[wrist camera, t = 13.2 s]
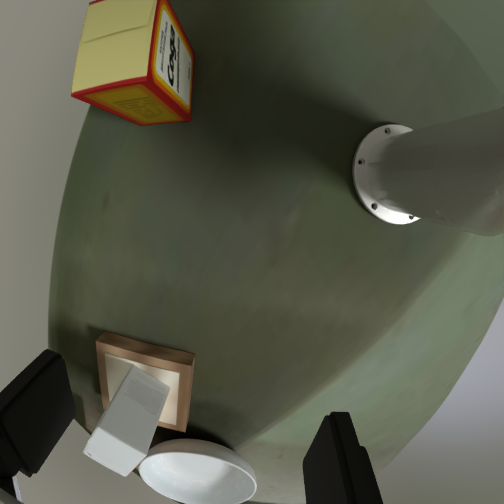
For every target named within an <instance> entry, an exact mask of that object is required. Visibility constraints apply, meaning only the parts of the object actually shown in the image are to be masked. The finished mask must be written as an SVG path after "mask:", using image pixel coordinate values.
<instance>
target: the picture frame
mask: <svg viewBox="0 0 504 504" xmlns="http://www.w3.org/2000/svg"><path fill="white" fill-rule="evenodd" d="M96 351H97V362H98V371H99V380H100V388H101V395H102V402H103V408H104V409H105V410H106V408H107V406H108V405H109V403H110V401H111V400H112V398H113V396H114V394H115V393H116V391H117V389H118V388H119V386H120V384H121V382H122V381H123V379H124V377H125V376H126V374H127V372H128V371H129V369H130V368H131V366H132V365H135V366H136V367H138V368H140V369H141V370H143V371H144V372H146V373H148V374H149V375H151V376H152V377H154V378H156V379H157V380H159V381H161V382H162V383H164V384H166V385H167V386H169V387H170V391H169V394H168V397H167V399H166V402H165V405H164V408H163V410H162V413H161V416H160V419H159V421H158V424H157V426H161V427H165V428H169V429H173V430H178V431H182V432H185V431H186V427H187V423H188V418H189V408H190V398H191V388H192V379H193V370H194V361H195V354H193V353H188V352H183V351H179V350H174V349H170V348H166V347H161V346H157V345H153V344H149V343H145V342H142V341H138V340H134V339H130V338H127V337H123V336H120V335H116V334H113V333H109V332H106V331H104V332H103V333H102V334H101V335H100V337H99V338H98V339H97V340H96Z"/></svg>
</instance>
